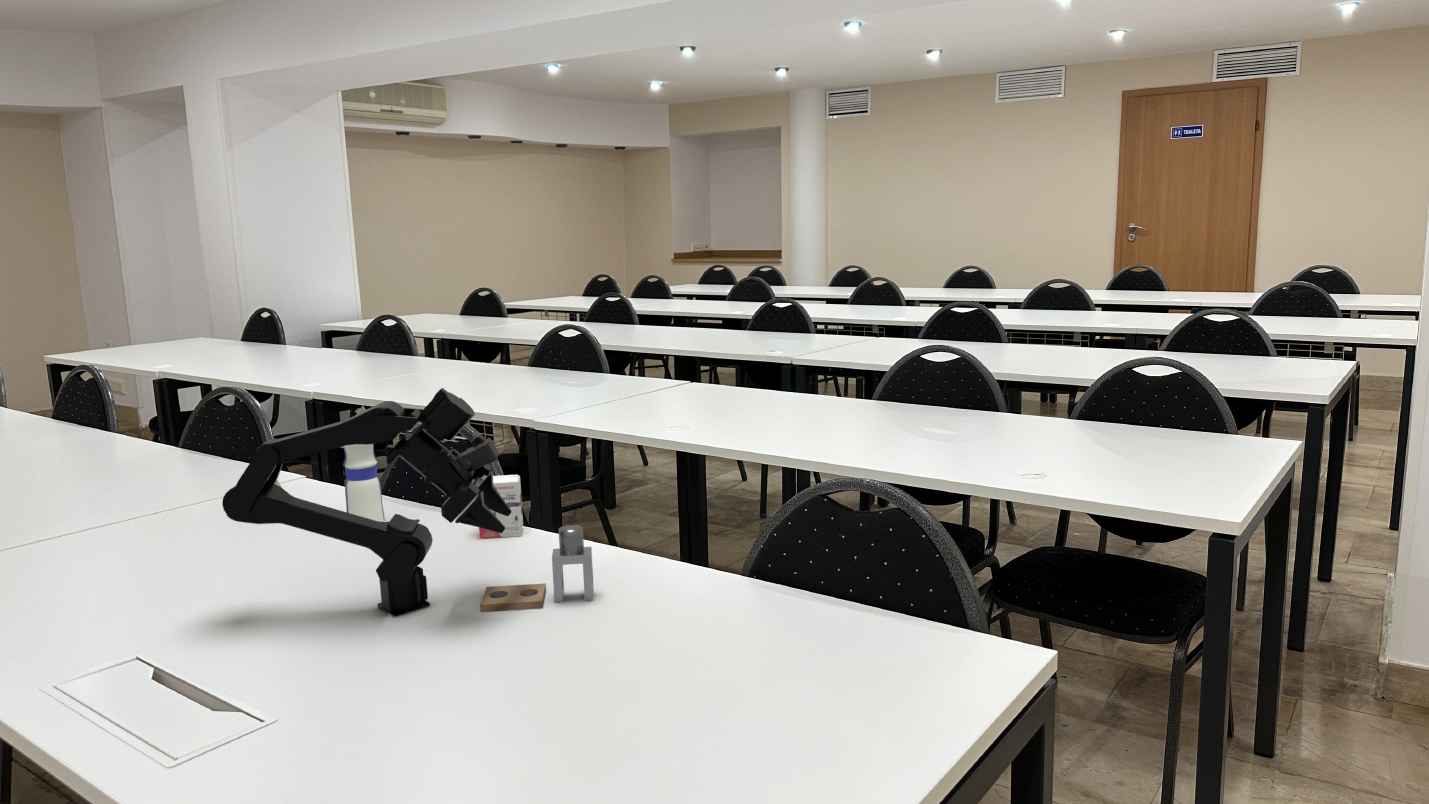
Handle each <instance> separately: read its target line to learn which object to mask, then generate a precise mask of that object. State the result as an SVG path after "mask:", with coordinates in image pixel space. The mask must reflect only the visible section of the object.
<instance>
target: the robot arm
mask: <svg viewBox="0 0 1429 804" xmlns="http://www.w3.org/2000/svg"><path fill="white" fill-rule="evenodd" d="M475 414H476V412H475V411H474V409H473V408H472V407H471V405H469V404H468V403H467V402H466V401H465V400H464V399H463V398H462V397H458V396H457V395H455V394H454V393H452V392H448V391H447V390H446V389H445V388H444V387H441V388H440V389H439V390H438V391H437V392H436V393H435V395H434V396H433V397H432V399H431V400H430V401H429V403H427V404H426V406H425V407H424V408H415V407H414V408H413V407H412V408H411V407H403V406H402V405H401V404H400V403H397V402H396V401H393V400H386V401H385V400H384V401H382V402H380V403H378V404H376V405H373V406H371V407H369V408H367V409H366V410H365V411H363V412H361V413H359V414H358V413H356V415H354V416H351V417H349V418H347V419H344V420H341V421H338V422H334V423H330V424H327V425H323V426H319V427H316V428H312V429H309V430H306V431H303V432H298V433H295V434H292V435H288V436H285V437H284V436H283V437H281V438H271V439H270V440H267V441H265V442H264V443H262V444H260V445H259V446H258V447H257V448H256V450H255V453H254V455H253V457H252V459H251V461H250V462H249V463H248V465H247V467H246V468H245V470H244V471H243V473H242V474H241V476H240V477H239V478H238V480H237V482H236V485H234V486H232V487H231V488H230V489H228V490H227V491H226V492H225V493H224V495H223V497H222V509H223V511H224V512H225V514H226V516H227V518H229V519H230V520H233V521H235V522H238V523H246V524H253V525H266V524H267V525H271V524H279V525H281V524H282V525H286V526H290V527H292V528H296V529H299V530H302V531H306V532H311V533H314V534H317V535H321V536H325V537H327V538H331V539H335V540H339V541H342V542H344V543H345V542H346V543H349V544H352V545H355V546H359V547H362V548H365V549H368V550H370V551H371V552H372V553H374V554H375V555H376V556H378V557H379V558H380V559H382V560H381V562H380V563H379V565H378V566H377V568H376V569H375V572H376V574H377V576H378V578H379V579H378V580H379V588H380V589H379V590H380V599H381V600H380V603H378V604H377V608H378V609H381V611H383V612H385V613H387V614H388V615H390V616H392V617H394V618H395V617H399V616H402V615H405V614H409V613H412V612H415V611H419V610H422V609H425V608H428V607H431V602H429V601H428V598H429V596H428V584H427V583H428V582H427V576H426V575H424V569H423V568H422V567H420V566H419V565H420V564H421V563H422V562H423V561H424V560H425V558H426V556H427V554H428V553H429V551H430V549H431V548H432V545H433V536H432V533H431V531H430V530H429V527H427V526H426V525H424V524H422V523H419V522H420V521H421V520H420V519H419V518H418V519H417V518H416V519H412V518H408V517H406V516H404V515H401V514H398V513H395V514H393V516H392V518H391V519H389V521H385V522H379V521H375V520H371V519H368V518H364V517H361V516H357V515H354V514H351V513H347V511H342V510H340V509H336V508H333V507H329V506H326V505H322V504H319V503H315V502H313V501H309V500H305V499H302V498H300V497H299V498H298V497H295V496H293V495H292V494H290V493H289V492H288V491H287V490H285V489H284V488H283V487H282V486H281V487H282V488H281V487H280V486H278V485H276V484H275V482H276V480H278V478H279V476H280V474H281V470H282V468H283V465H284V464H285V463H290V462H292V461H297V460H300V459H302V458H307V457H310V456H314V455H317V454H321V453H325V452H328V451H332V450H335V449H340V448H339V447H343V446H346V445H355V444H357V445H368V444H374V445H375V444H385V443H389V442H391V441H394V439H395V438H397V437H398V436H399V435H400V434H401V433H404V434H403V435H402V436H401V437H400V439H398V441H397V442H396V443H395V444H387V446H386V447H385V448H384V450H385V453H386V464H387V465H392V464H393V463H394V461H395V460H397V458H398V457H399V458H401V459H402V460H403V461H404V462H405V463H407V464H408V465H409V466H410V467H411V468H413V469H414V470H415V471H416V472H418V473H419V474H421V476H422V477H423V478H424V479H423V482H424V483H425V484H426V485H427V486H429V485H430V484H432V485H433V486H435V487H436V488H437V489H438V490H439V491H441V493H443V494H444V496H443V499H444V500H445V501H444V502H443V504H442V506H440V510H441V511H440V513H441V517H443V518H444V519H445V520H446V521H448V522H449V524H452V523H453V522H454V523H455V524H464V525H468V526H472V527H476V528H478V529H479V528H483V529H487V530H491V531H495V532H498V533H502V532H503V531H504V530H505V526H504V525H503V524H502V523H501V522H500V520H499V519H498V518H497V517H496V516H495V515H494V514H493V513H492V512H491V510H492V511H495V512H497V513H500V514H502V515H505V516H509V515H510V514H511V512H512V511H511V509H510V508H509V507H508V505H507V504H506V502H505V501H504V500H503V498H502V497H501V495H500V494H499V492H498V491H497V489H496V488H495V486H494V484H493V476H494V471H493V470H491V469H492V465H490V464H492V463H494V462H496V461H497V460H498V457H499V456H500V453H499V451H498V449H497V447H496V442H495V441H493V440H492V438H491V437H488V438H487V437H485V436H483V435H481V434H479V435H478V436H476V437H473V439H472V440H471V447H468V448H467V449H466V450H464V451H463V452H461V453H460V452H459V451H458V450H457V449H456V448H454V449H453V448H451V449H450V450H449V449H448V448H447V447H445V446H444V445H443V443H441V442H443V441H444V440H447V441H452V440H453V439H454V438H455V437H456V436H457V435H458V434H459V433H460V432H461V431H462V429H463V428H464V427H465V426H466V425H467V424H468V423H469V422H470V421H471V420H472V419H473V418H474V416H475ZM418 423H421V426H419V428H418V429H417V430H416V431H415V432H414V433H410V432H409V431H411V430H412V429H413V428H414V427H415V426H416V425H417V424H418ZM439 441H441V442H439ZM488 473H489V474H488ZM486 474H488V475H486Z"/></svg>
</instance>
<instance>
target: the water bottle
mask: <svg viewBox="0 0 1429 804" xmlns="http://www.w3.org/2000/svg"><path fill="white" fill-rule="evenodd" d="M365 410H367V409H366V408H365V407H364V405H362V406H361V408H360V409H358V410H355V411H354V412H355V413H356V414H359V413H361V412H363V411H365ZM374 447H375V444H368V445H357V444H355V445H346V446H343V447H339V448H338V449H343V450H344V457H345V458H344V462H343V463H342V466H343V467H344V468H345V484H344V491H345V492H344V493H345V505H346V507H345V508H346V512H347V513H351V514H354V515H357V516H361V517H364V518H368V519H371V520H375V521H379V522H384V521H385V522H386V518H385V512H384V506H383V497H382V496H383V495H382V488H381V486H382V485H381V482H380V479H379V476H378V470H377V469H378V468H377V464H378V462H379V460H378V459H377V457H376V455H375V451H374V450H375V448H374Z"/></svg>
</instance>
